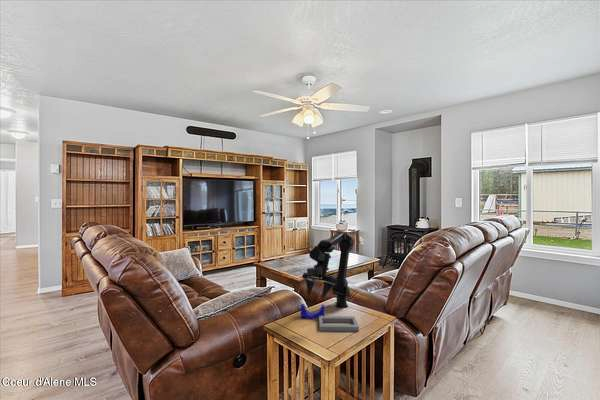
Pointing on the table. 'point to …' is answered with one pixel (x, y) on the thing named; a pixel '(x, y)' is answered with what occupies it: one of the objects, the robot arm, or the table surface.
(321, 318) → the gray rectangular open frame
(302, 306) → the blue curved bracket
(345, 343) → the table surface
